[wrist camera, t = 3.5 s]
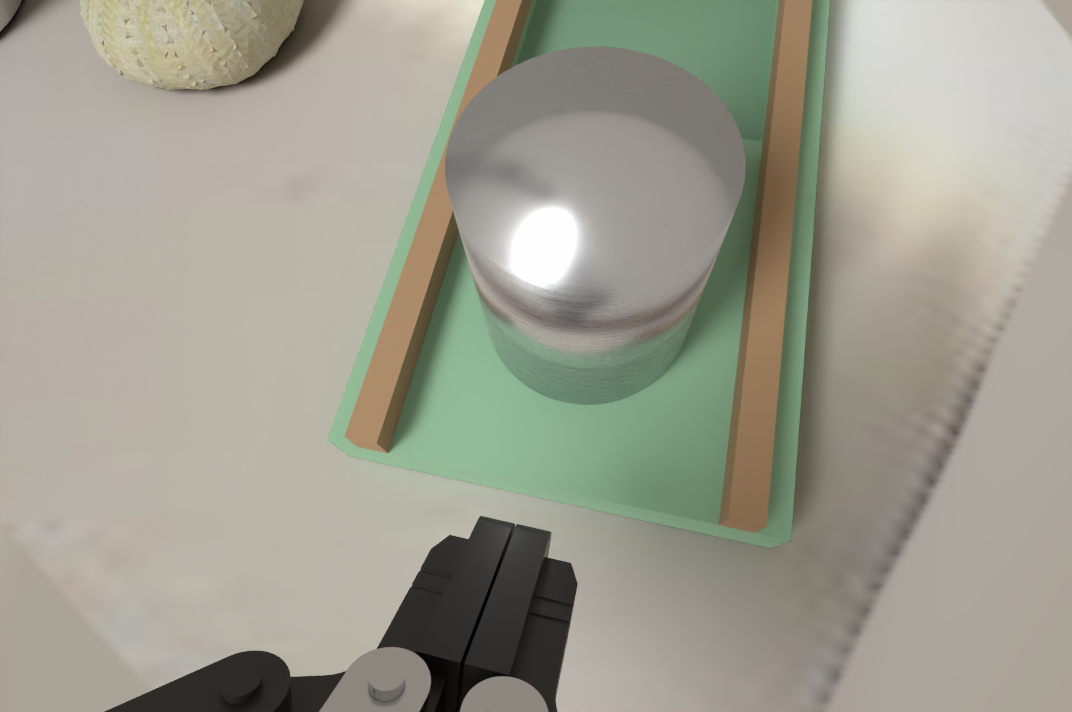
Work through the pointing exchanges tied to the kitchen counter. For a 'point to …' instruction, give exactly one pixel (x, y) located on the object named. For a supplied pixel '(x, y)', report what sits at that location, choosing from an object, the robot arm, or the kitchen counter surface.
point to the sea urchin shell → (188, 38)
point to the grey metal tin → (592, 214)
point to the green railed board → (713, 336)
